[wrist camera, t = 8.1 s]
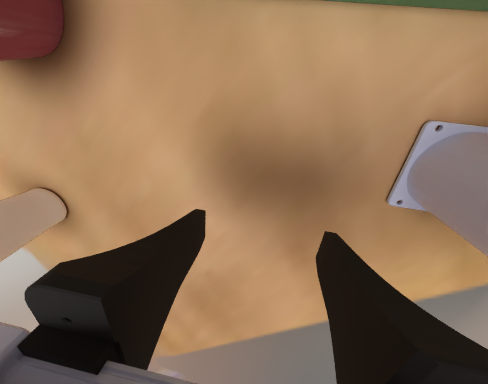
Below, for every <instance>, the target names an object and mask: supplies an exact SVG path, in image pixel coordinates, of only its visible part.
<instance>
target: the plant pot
mask: <svg viewBox="0 0 488 384" xmlns="http://www.w3.org/2000/svg"><path fill="white" fill-rule="evenodd" d="M63 27H64V14H63V5H62V1H61V0H0V61H2V60H13V59H23V58H35V57H43V56H46V55H48V54H50V53H51V52H53V51H54V50H55V49H56V47H57V46H58V44H59V42H60V40H61V37H62V33H63Z"/></svg>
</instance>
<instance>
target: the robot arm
mask: <svg viewBox="0 0 488 384" xmlns="http://www.w3.org/2000/svg"><path fill="white" fill-rule="evenodd" d="M438 125H439V129H438V130H436V131H435V128H436V127H437V126H438ZM399 200H401V201H400V202H399V203H397V201H399ZM387 203H388V204H389V205H391V206H397V207H403V208H410V209H416V210H422V211H429V212H430V213H431V214H433V215H434V216H435V217H436V218H438V219H439V220H440V221H442V222H443V223H444V224H446V225H447V226H448V227H450V228H451V229H452V230H453V231H455V232H456V233H457V234H459V235H460V236H461V237H463V238H464V239H465V240H467V241H468V242H469V243H470V244H472V245H473V246H474V247H476V248H477V249H478V250H480V251H481V252H482V253H484V254H485V255H486V256H487V257H488V127H483V126H475V125H466V124H458V123H449V122H440V121H428V122H426V123H425V124H424V126H423V127H422V129H421V131H420V133H419V135H418V137H417V139H416V142H415V144H414V146H413V148H412V150H411V152H410V154H409V156H408V158H407V160H406V162H405V164H404V166H403V168H402V170H401V172H400V174H399V176H398V178H397V180H396V182H395V184H394V186H393V188H392V190H391V192H390V195H389V197H388V199H387ZM204 239H205V210H199V209H195V210H193V211H192V212H190V213H189V214H187V215H185V216H184V217H182V218H181V219H179V220H177V221H176V222H174V223H172V224H171V225H169V226H167V227H165V228H163V229H161V230H159V231H158V232H156V233H154V234H152V235H149V236H147V237H145V238H143V239H140V240H138V241H136V242H133V243H130V244H127V245H125V246H122V247H119V248H116V249H113V250H110V251H107V252H103V253H100V254H96V255H92V256H88V257H84V258H80V259H75V260H71V261H66V262H61V263H59V264H58V265H56V266H55V267H54V268H53V269H51V270H50V271H49V272H47V273H46V274H45V275H43V276H42V277H41V278H40V279H38V280H37V281H36V282H34V283H33V284H32V285H30V286H29V287H28V288H27V289H26V291H25V301H26V303H27V305H28V307H29V308H30V310H31V311H32V313H33V315H34V316H35V318H36V320H37V321H38V323H39V324H40V325H39V326H38V327H36V329H34V330H33V331H32V332H29V331H28V330H26V329H24V328H21V327H17V326H13V325H9V324H6V323H2V322H0V384H197V383H193V382H189V381H185V380H181V379H178V378H174V377H170V376H166V375H162V374H158V373H154V372H150V371H147V369H148V366H149V363H150V360H151V358H152V355H153V352H154V350H155V347H156V344H157V342H158V339H159V336H160V334H161V331H162V329H163V326H164V324H165V321H166V319H167V316H168V314H169V311H170V309H171V307H172V304H173V302H174V300H175V297H176V295H177V293H178V290H179V288H180V286H181V284H182V282H183V280H184V279H185V277H186V275H187V273H188V271H189V270H190V268H191V266H192V264H193V262H194V260H195V259H196V257H197V255H198V253H199V251H200V249H201V246H202V244H203V241H204ZM316 265H317V273H318V278H319V282H320V286H321V290H322V294H323V298H324V302H325V306H326V310H327V314H328V319H329V325H330V331H331V338H332V345H333V354H334V361H335V370H336V380H337V384H488V349H486V348H484V347H483V346H481V345H479V344H478V343H476V342H474V341H472V340H471V339H469V338H467V337H465V336H464V335H462V334H460V333H459V332H457V331H455V330H454V329H452V328H451V327H449V326H448V325H446V324H444V323H443V322H441V321H440V320H438V319H437V318H435V317H433V316H432V315H430V314H429V313H427V312H426V311H425V310H423V309H422V308H420V307H419V306H417V305H416V304H415V303H413V302H412V301H411V300H409V299H408V298H406V297H405V296H404V295H403V294H401V293H400V292H399V291H397V290H396V289H395V288H394V287H392V286H391V285H390V284H389V283H387V282H386V281H385V280H384V279H383V278H382V277H380V276H379V275H378V274H377V273H376V272H375V271H374V270H373V269H372V268H370V267H369V266H368V265H367V264H366V263H365V262H364V261H363V260H362V259H361V258H360V257H359V256H358V255H357V254H356V253H355V252H354V251H353V250H352V249H351V248H350V247H349V246H348V245H347V244H346V243H345V242H344V241H343V239H342V238H341V237H340V236H339V235H337V234H336V233H332V232H327V231H325V233H324V236H323V239H322V241H321V244H320V247H319V250H318V253H317V255H316Z"/></svg>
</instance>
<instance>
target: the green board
mask: <svg viewBox="0 0 488 384" xmlns="http://www.w3.org/2000/svg"><path fill="white" fill-rule="evenodd" d="M327 1H342V2H357V3H372V4H387V5H402V6H417V7H432V8H447V9H462V10H478V11H488V0H327Z"/></svg>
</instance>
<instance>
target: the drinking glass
mask: <svg viewBox="0 0 488 384" xmlns="http://www.w3.org/2000/svg"><path fill="white" fill-rule="evenodd" d="M66 214H67V210H66V207H65V205H64V203H63V201H62V200H61V199H60V198H59V197H58V196H57V195H56V194H54V193H53V192H51V191H49V190H46V189H41V188H36V189H32V190H29V191H26V192H24V193H21V194H18V195H15V196H12V197H9V198H5V199H2V200H0V262H1V261H2V260H4V259H5V258H7V257H8V256H10V255H11V254H13V253H14V252H16V251H17V250H18V249H20V248H21V247H23V246H24V245H26V244H27V243H29V242H30V241H32V240H33V239H35V238H36V237H38V236H39V235H41V234H42V233H44V232H45V231H47V230H48V229H50V228H51V227H53V226H55V225H56V224H58V223H60V222H61V221H63V220H64V219H65V217H66Z"/></svg>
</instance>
